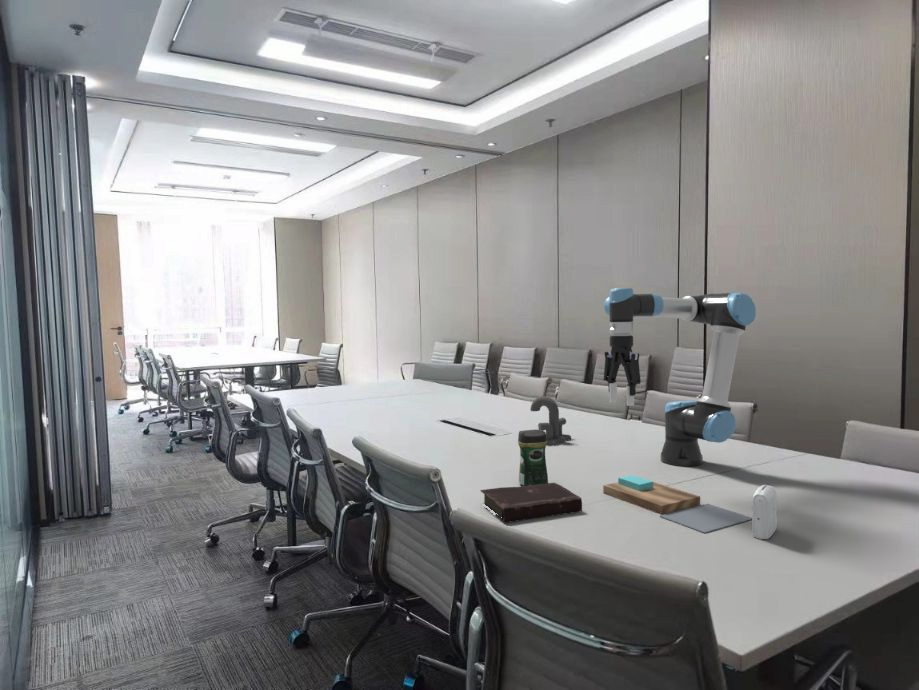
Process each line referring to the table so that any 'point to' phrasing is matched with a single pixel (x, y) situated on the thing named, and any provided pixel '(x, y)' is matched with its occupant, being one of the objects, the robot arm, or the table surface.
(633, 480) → the turquoise flat block
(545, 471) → the coffee jar
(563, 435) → the faucet
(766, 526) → the photo printer
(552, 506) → the diary
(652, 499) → the wooden board
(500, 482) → the table surface
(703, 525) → the mat
